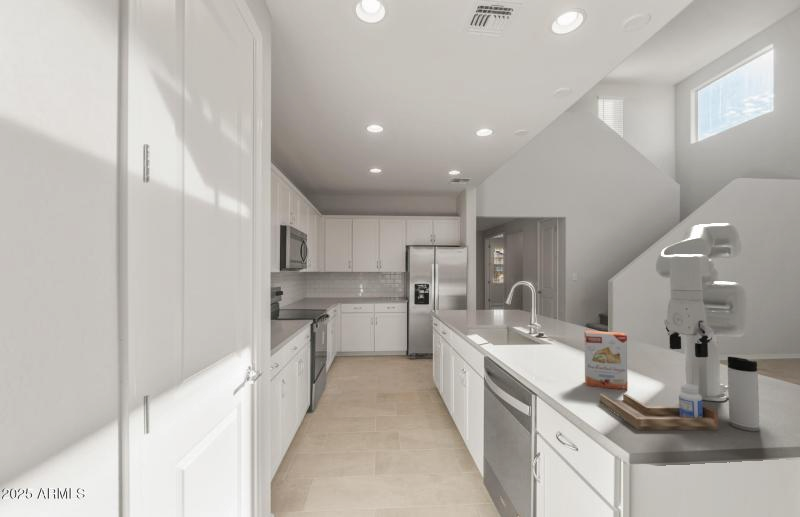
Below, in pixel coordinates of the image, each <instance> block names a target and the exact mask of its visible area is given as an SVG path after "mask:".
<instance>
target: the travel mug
mask: <svg viewBox="0 0 800 517" xmlns="http://www.w3.org/2000/svg"><path fill="white" fill-rule="evenodd" d="M758 376H759V374H758V362H757V361H755V360H748V359H747V358H742V357H735V356H727V384H728V385H727V386H728V391H727V393H728V411H729V412H728V418H729V424H730V425H731V426H732V427H734V428H737V429H739V430H742V431H746V432H759V431H760V404H759V402H760V401H759V399H760V398H759V378H758Z"/></svg>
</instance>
